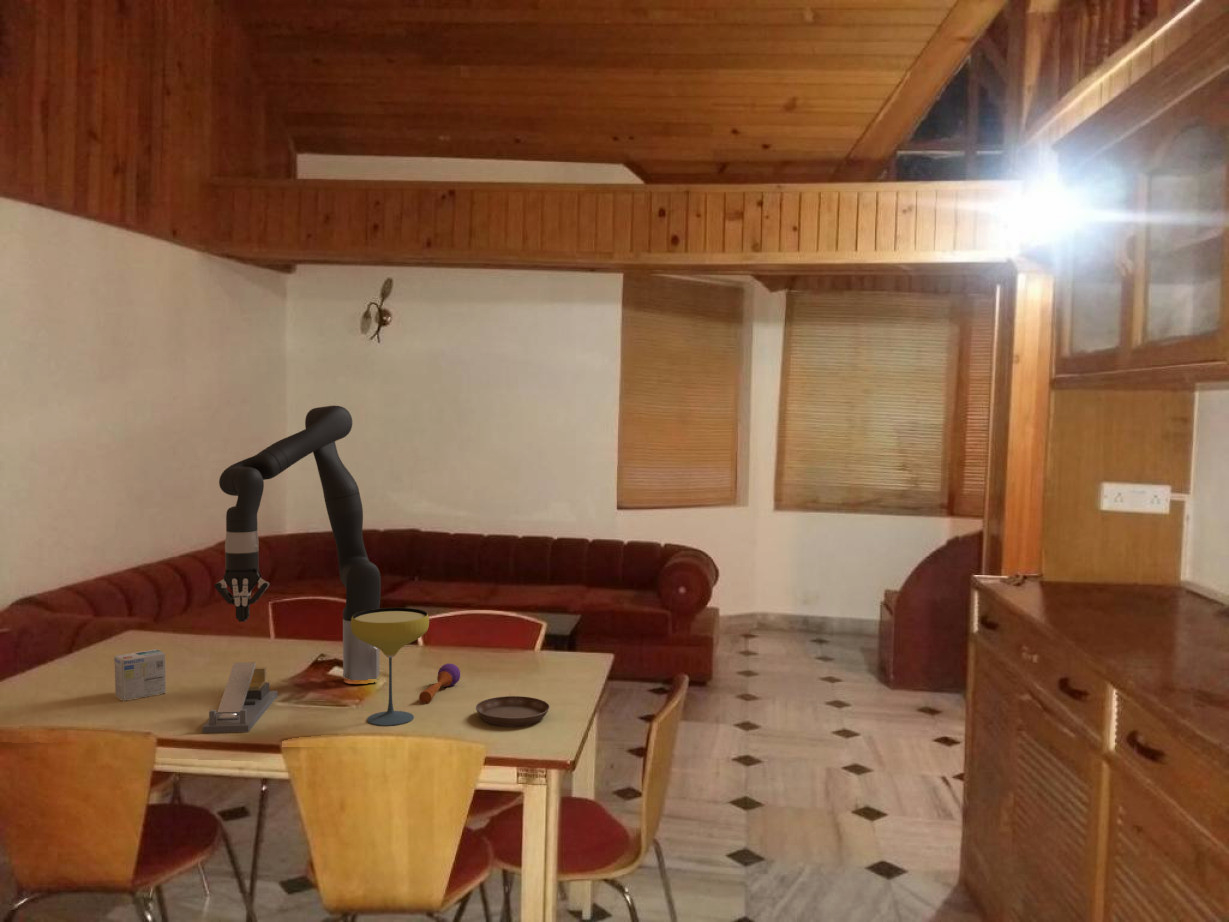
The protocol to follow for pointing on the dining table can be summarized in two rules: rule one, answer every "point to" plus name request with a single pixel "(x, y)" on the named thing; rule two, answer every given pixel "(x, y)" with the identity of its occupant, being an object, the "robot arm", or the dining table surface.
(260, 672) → the block
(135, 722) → the dining table surface
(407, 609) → the cocktail glass
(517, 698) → the plant saucer
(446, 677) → the purple maraca
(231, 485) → the robot arm
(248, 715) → the base
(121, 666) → the light bulb box
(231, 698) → the grey flat bar
